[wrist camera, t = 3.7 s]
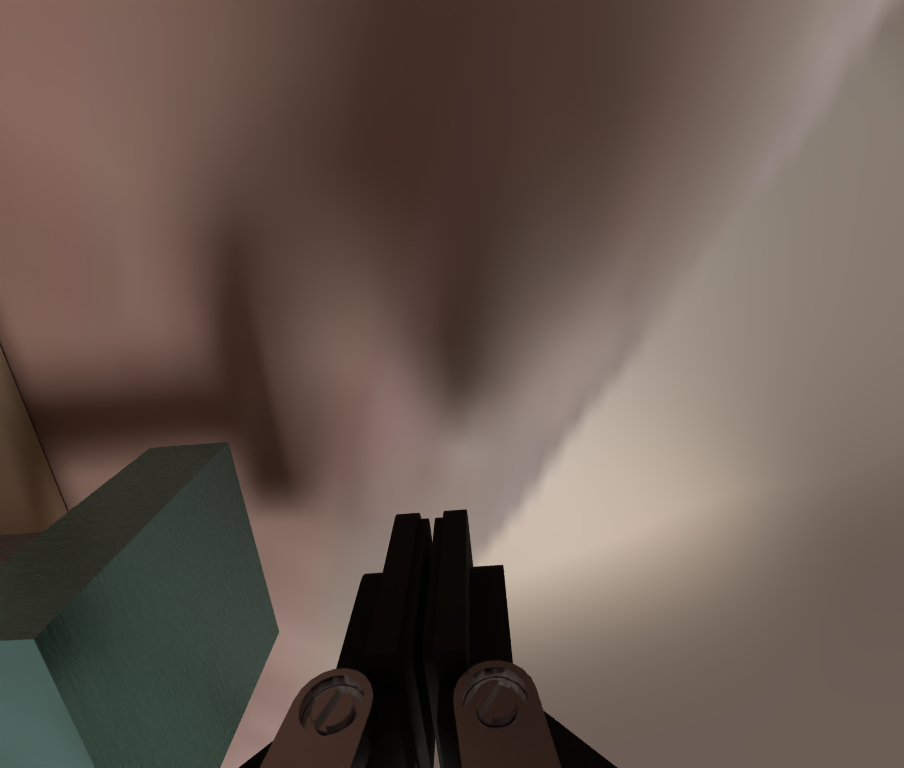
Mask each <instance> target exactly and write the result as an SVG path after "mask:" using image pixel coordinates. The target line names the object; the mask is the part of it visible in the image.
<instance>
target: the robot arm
mask: <svg viewBox="0 0 904 768" xmlns="http://www.w3.org/2000/svg"><path fill="white" fill-rule="evenodd" d="M435 738H436V744H437V751H438V757H439V763H440V768H617V767H616V766H614V765H613V764H612V763H610V762H609V761H608V760H607V759H605V758H604V757H603V756H601V755H600V754H599V753H597V752H596V751H595V750H594V749H592V748H591V747H590V746H589V745H587V744H586V743H584V742H583V741H582V740H581V739H579V738H578V737H577V736H576V735H574V734H573V733H572V732H570V731H569V730H568V729H567V728H565V727H564V726H563V725H562V724H560V723H559V722H558V721H556V720H555V719H554V718H552V717H551V716H550V715H548V714H547V713H546V712H545V711H543V708H542V704H541V701H540V698H539V695H538V692H537V688H536V686H535V684H534V682H533V680H532V678H531V677H530V676H529V675H528V674H527V673H526V672H525V671H524V670H523V669H522V668H520V667H518V666H517V665H515V664H513V660H512V650H511V639H510V629H509V619H508V609H507V598H506V588H505V578H504V568H503V565H495V566H479V567H473V561H472V552H471V542H470V533H469V524H468V515H467V510H453V511H444V513H443V517H442V518H435V524H434V533H433V543H432V536H431V529H430V522H429V519H421V516H420V513H411V514H397V515H396V517H395V521H394V525H393V530H392V534H391V538H390V543H389V547H388V552H387V556H386V560H385V565H384V569H383V573H371V574H364V575H363V577H362V579H361V582H360V586H359V589H358V593H357V596H356V600H355V604H354V607H353V611H352V614H351V618H350V622H349V625H348V629H347V632H346V636H345V639H344V643H343V647H342V650H341V654H340V657H339V661H338V665H337V668H336V669H333V670H330V671H327V672H324V673H322V674H320V675H318V676H317V677H315V678H313V679H312V680H310V681H309V682H308V683H307V684H306V685H305V686H304V687H303V688H302V689H301V690H300V692H299V693H298V695H297V696H296V698H295V699H294V701H293V703H292V705H291V707H290V709H289V711H288V713H287V715H286V717H285V719H284V721H283V723H282V725H281V727H280V729H279V731H278V733H277V734H276V736H275V738H274V740H273V741H272V742H271V743H270V744H268V745H267V746H266V747H265V748H263V749H262V750H261V751H260V752H258V753H257V754H256V755H254V756H253V757H252V758H251V759H249V760H248V761H247V762H245V763H244V764H243V765H242V766H240V767H239V768H433V767H434V752H435V751H434V750H435Z"/></svg>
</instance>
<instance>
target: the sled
mask: <svg viewBox="0 0 904 768" xmlns="http://www.w3.org/2000/svg"><path fill="white" fill-rule="evenodd" d="M278 633H279V630H278V626H277V622H276V618H275V615H274V611H273V607H272V603H271V600H270V596H269V592H268V589H267V585H266V581H265V577H264V574H263V570H262V566H261V562H260V559H259V555H258V551H257V548H256V544H255V540H254V536H253V533H252V529H251V525H250V521H249V518H248V514H247V510H246V507H245V503H244V499H243V495H242V492H241V488H240V484H239V480H238V477H237V473H236V469H235V466H234V462H233V458H232V454H231V451H230V447H229V443H228V442H222V443H209V444H196V445H183V446H170V447H157V448H149V449H148V450H147V451H145V452H144V453H143V454H142V455H140V456H139V457H138V458H137V459H135V460H134V461H133V462H131V463H130V464H129V465H128V466H126V467H125V468H124V469H122V470H121V471H120V472H119V473H117V474H116V475H115V476H113V477H112V478H111V479H110V480H108V481H107V482H106V483H105V484H103V485H102V486H101V487H99V488H98V489H97V490H96V491H94V492H93V493H92V494H90V495H89V496H88V497H87V498H85V499H84V500H83V501H82V502H80V503H79V504H78V505H76V506H75V507H74V508H73V509H71V510H70V511H69V512H67V513H66V514H65V515H64V516H62V517H61V518H60V519H59V520H57V521H56V522H55V523H53V524H52V525H51V526H50V527H48V528H47V529H46V530H44V531H43V532H37V533H22V534H7V535H0V768H220V767H221V764H222V762H223V760H224V757H225V755H226V753H227V751H228V748H229V746H230V744H231V741H232V739H233V737H234V734H235V732H236V730H237V728H238V725H239V723H240V721H241V718H242V716H243V714H244V712H245V709H246V707H247V705H248V702H249V700H250V698H251V695H252V693H253V691H254V689H255V686H256V684H257V682H258V679H259V677H260V675H261V673H262V670H263V668H264V666H265V663H266V661H267V659H268V656H269V654H270V652H271V650H272V647H273V645H274V643H275V640H276V638H277V636H278Z"/></svg>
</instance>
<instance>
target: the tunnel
mask: <svg viewBox="0 0 904 768" xmlns="http://www.w3.org/2000/svg"><path fill="white" fill-rule="evenodd" d="M66 513H67V509H66V507H65V504H64V502H63V500H62V497H61V495H60V492H59V490H58V487H57V485H56V482H55V480H54V477H53V475H52V472H51V470H50V467H49V465H48V462H47V460H46V458H45V455H44V453H43V450H42V448H41V445H40V443H39V440H38V438H37V435H36V433H35V430H34V428H33V425H32V423H31V421H30V418H29V416H28V413H27V411H26V408H25V406H24V403H23V401H22V398H21V396H20V393H19V391H18V388H17V386H16V383H15V381H14V379H13V376H12V374H11V371H10V369H9V366H8V364H7V361H6V359H5V356H4V354H3V351H2V349H1V346H0V535H7V534H22V533H37V532H43V531H44V530H46V529H47V528H48V527H50V526H51V525H52V524H53V523H55V522H56V521H57V520H59V519H60V518H61V517H62V516H64V515H65V514H66Z"/></svg>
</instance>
